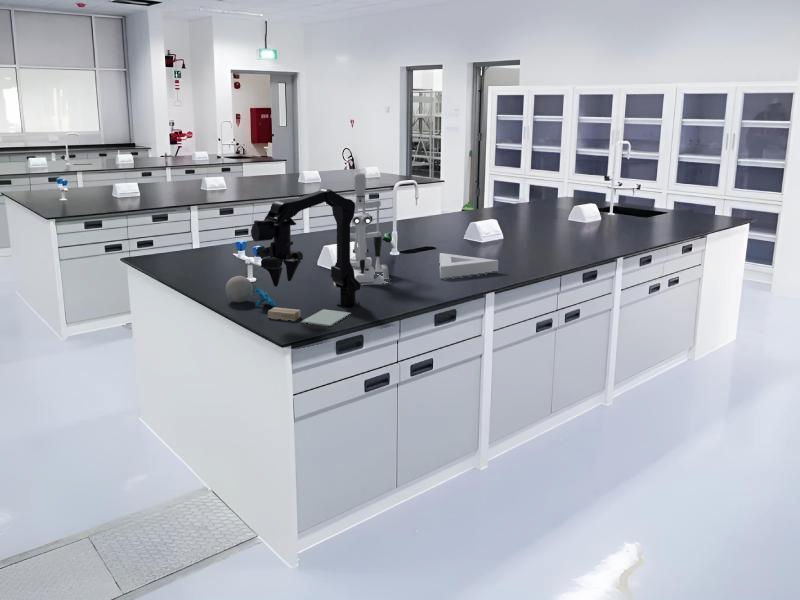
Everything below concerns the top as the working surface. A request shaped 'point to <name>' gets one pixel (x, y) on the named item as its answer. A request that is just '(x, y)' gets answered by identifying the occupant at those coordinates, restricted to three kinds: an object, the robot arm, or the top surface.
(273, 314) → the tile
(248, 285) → the grey ball
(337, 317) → the mat
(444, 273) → the triangular ruler
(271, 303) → the blue bumpy slanted figure
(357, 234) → the microscope
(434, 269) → the top surface
